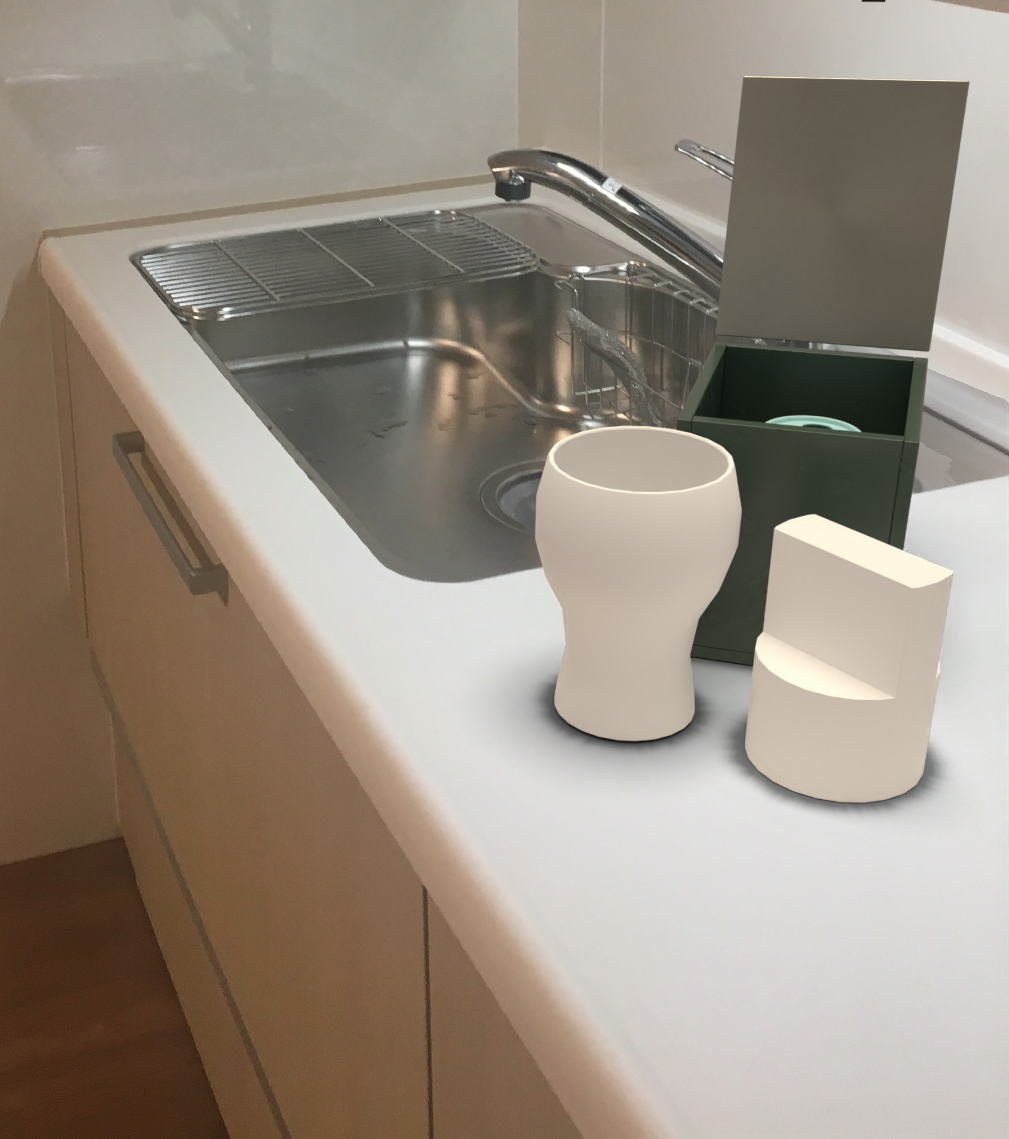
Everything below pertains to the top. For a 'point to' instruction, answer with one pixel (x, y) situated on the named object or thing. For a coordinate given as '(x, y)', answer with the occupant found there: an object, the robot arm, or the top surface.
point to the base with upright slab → (845, 663)
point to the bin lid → (840, 209)
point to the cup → (634, 570)
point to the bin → (802, 460)
